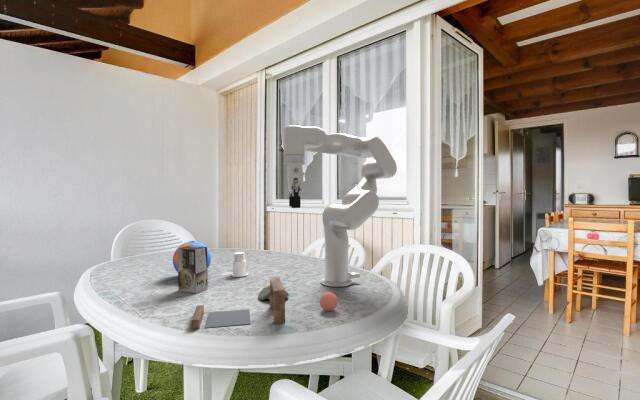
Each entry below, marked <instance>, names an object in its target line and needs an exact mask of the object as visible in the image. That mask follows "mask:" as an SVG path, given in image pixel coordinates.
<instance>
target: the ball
mask: <svg viewBox="0 0 640 400" xmlns="http://www.w3.org/2000/svg"><path fill="white" fill-rule="evenodd" d="M338 300H339V299H338V298H337V296H336V294H335V293H333V292H330V291H327V292H324V293H322V295H320V297H319V305H320V307H321V308H322V309H323V310H324V311H327V312H329V311H330V312H331V311H333V310H335V309H336V307H338V306H337V305H338Z"/></svg>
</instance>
